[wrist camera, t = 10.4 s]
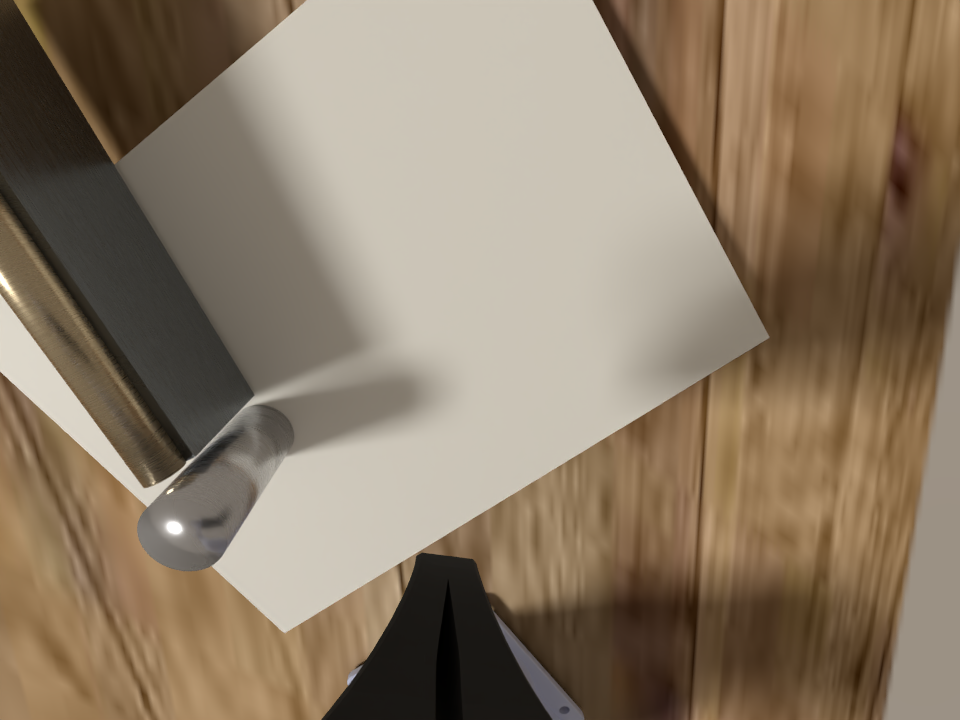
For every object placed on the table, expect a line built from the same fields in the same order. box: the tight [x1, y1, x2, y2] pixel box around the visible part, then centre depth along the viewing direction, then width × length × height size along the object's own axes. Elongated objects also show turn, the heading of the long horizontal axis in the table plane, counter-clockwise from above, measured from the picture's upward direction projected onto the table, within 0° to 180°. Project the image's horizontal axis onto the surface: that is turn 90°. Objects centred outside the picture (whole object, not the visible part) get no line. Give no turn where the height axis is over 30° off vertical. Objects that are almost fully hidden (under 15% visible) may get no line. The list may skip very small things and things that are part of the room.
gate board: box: [0, 0, 770, 633], centre depth 19 cm, size 18×24×1 cm
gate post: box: [137, 405, 294, 571], centre depth 18 cm, size 2×2×7 cm
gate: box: [0, 0, 254, 488], centre depth 15 cm, size 2×14×6 cm, turn 23°
